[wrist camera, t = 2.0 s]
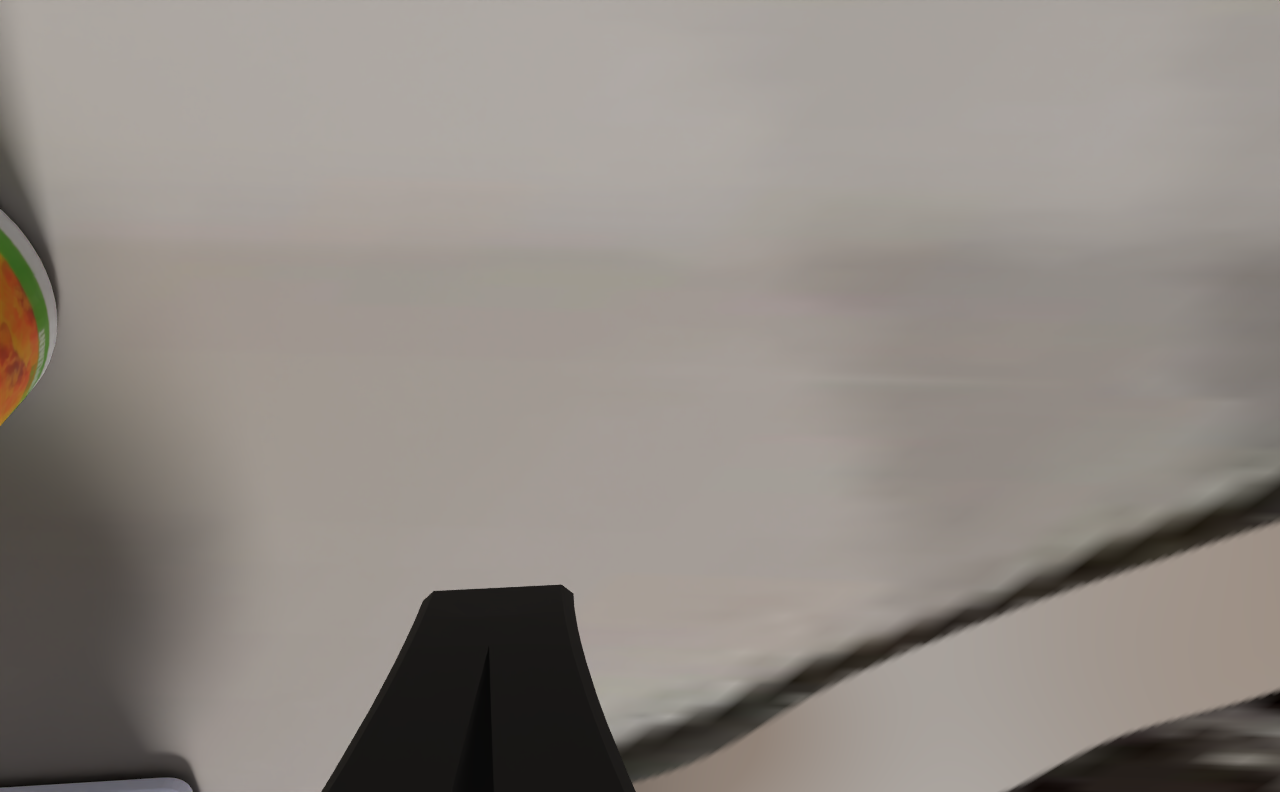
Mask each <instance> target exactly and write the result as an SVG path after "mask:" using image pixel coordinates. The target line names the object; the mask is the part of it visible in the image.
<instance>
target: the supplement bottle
mask: <svg viewBox="0 0 1280 792" xmlns="http://www.w3.org/2000/svg"><path fill="white" fill-rule="evenodd" d="M56 336H57V310H56V302H55V298H54V294H53V290H52V286H51V283H50V281H49V278H48V275H47V273H46V270H45V268H44V266H43V264H42V262H41V260H40V258H39V256H38V255H37V253H36V251H35V250H34V248H33V246H32V245H31V243H30V242H29V240H28V239H27V238H26V236H25V235H24V234H23V233H22V231H21V230H20V229H19V228H18V226H17V225H16V224H15V223H14V222H13V221H12V220H11V219H10V218H9V217H8V216H7V215H6V214H5V213H4V212H3V211H2V210H1V209H0V426H1V425H2V423H3V422H4V421H5V420H6V419H7V418H8V417H9V416H10V414H11V413H12V412H13V411H14V410H15V409H16V408H17V407H18V405H19V404H20V403H21V402H22V401H23V400H24V399H25V397H26V396H27V395H28V394H29V393H30V391H31V390H32V389H33V388H34V386H35V385H36V384H37V383H38V381H39V380H40V378H41V377H42V375H43V374H44V372H45V370H46V368H47V366H48V364H49V362H50V359H51V356H52V353H53V350H54V347H55V343H56Z"/></svg>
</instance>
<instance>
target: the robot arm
mask: <svg viewBox="0 0 1280 792" xmlns="http://www.w3.org/2000/svg"><path fill="white" fill-rule="evenodd" d="M0 792H193V791H192V789H191V787H190V786H189V785H188V784H187V783H186V782H184V781H183V780H180V779H177V778H170V777H165V778H149V779H132V780H116V781H100V782H84V783H68V784H51V785H35V786H19V787H3V788H0ZM322 792H636V791H635V789H634V787H633V785H632V782H631V780H630V778H629V776H628V773H627V771H626V768H625V766H624V763H623V761H622V758H621V756H620V754H619V751H618V749H617V746H616V744H615V741H614V739H613V736H612V734H611V732H610V729H609V727H608V724H607V722H606V719H605V716H604V714H603V711H602V708H601V705H600V703H599V700H598V697H597V694H596V691H595V688H594V685H593V682H592V679H591V676H590V672H589V669H588V666H587V663H586V659H585V656H584V652H583V648H582V645H581V641H580V636H579V632H578V627H577V621H576V616H575V609H574V596H573V593H572V592H570V591H569V590H568V589H567V588H565V587H564V586H563V585H546V586H526V587H506V588H487V589H467V590H447V591H433V592H432V593H431V594H430V595H429V596H428V597H427V598H426V599H425V600H424V601H423V602H422V605H421V607H420V609H419V612H418V614H417V617H416V619H415V621H414V624H413V626H412V628H411V630H410V632H409V634H408V636H407V639H406V641H405V643H404V645H403V647H402V649H401V651H400V653H399V655H398V657H397V659H396V661H395V663H394V665H393V667H392V669H391V671H390V673H389V675H388V677H387V679H386V680H385V682H384V684H383V686H382V688H381V690H380V692H379V694H378V695H377V697H376V699H375V701H374V703H373V705H372V707H371V708H370V710H369V712H368V714H367V715H366V717H365V719H364V721H363V722H362V724H361V726H360V727H359V729H358V731H357V733H356V734H355V736H354V738H353V739H352V741H351V743H350V745H349V746H348V748H347V750H346V751H345V753H344V755H343V757H342V758H341V760H340V762H339V763H338V765H337V767H336V769H335V770H334V772H333V774H332V775H331V777H330V779H329V780H328V782H327V784H326V785H325V787H324V788H323V790H322Z"/></svg>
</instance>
